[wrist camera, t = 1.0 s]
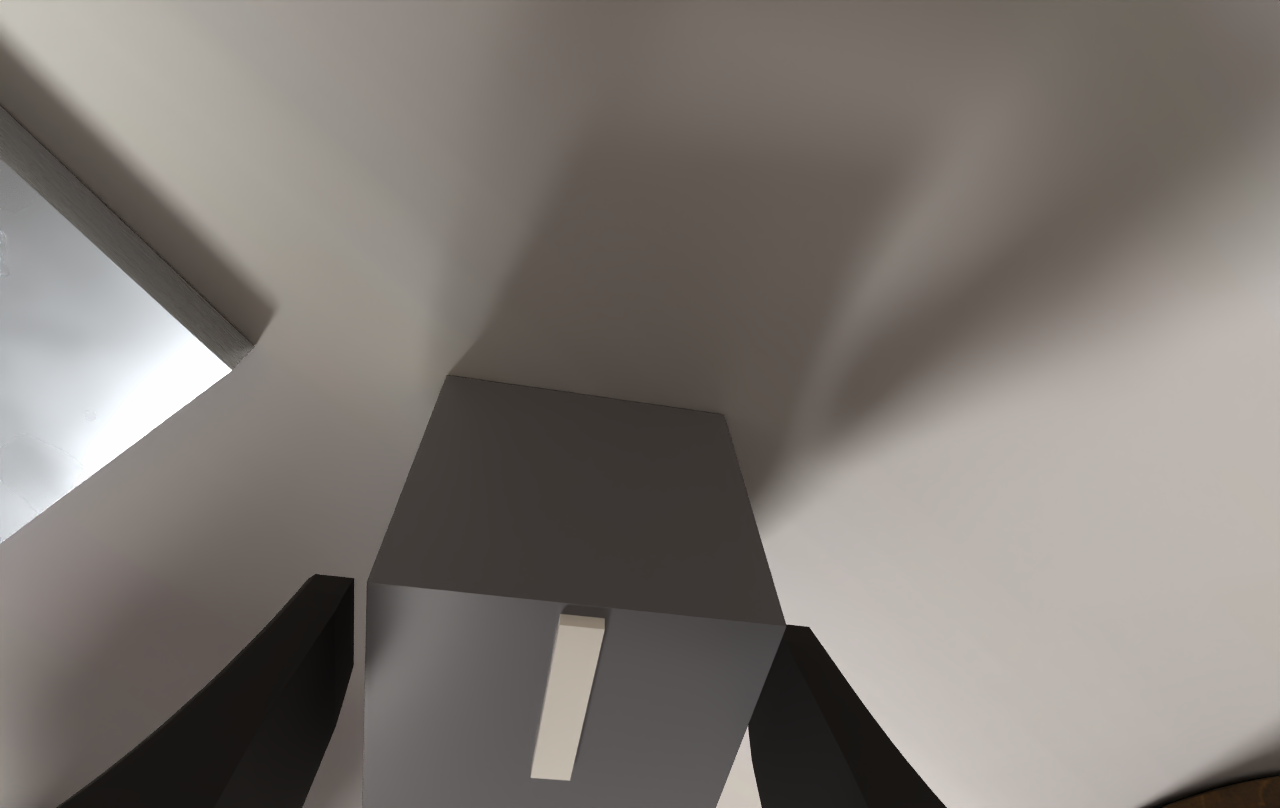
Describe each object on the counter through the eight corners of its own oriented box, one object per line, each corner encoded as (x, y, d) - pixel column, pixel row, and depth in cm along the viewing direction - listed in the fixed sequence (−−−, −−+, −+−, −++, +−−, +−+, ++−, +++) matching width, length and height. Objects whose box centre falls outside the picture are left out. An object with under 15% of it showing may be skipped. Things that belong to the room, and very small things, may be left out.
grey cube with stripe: (667, 613, 18) (696, 871, 13) (430, 588, 17) (358, 852, 12) (723, 415, 15) (790, 637, 10) (446, 375, 15) (362, 593, 9)
